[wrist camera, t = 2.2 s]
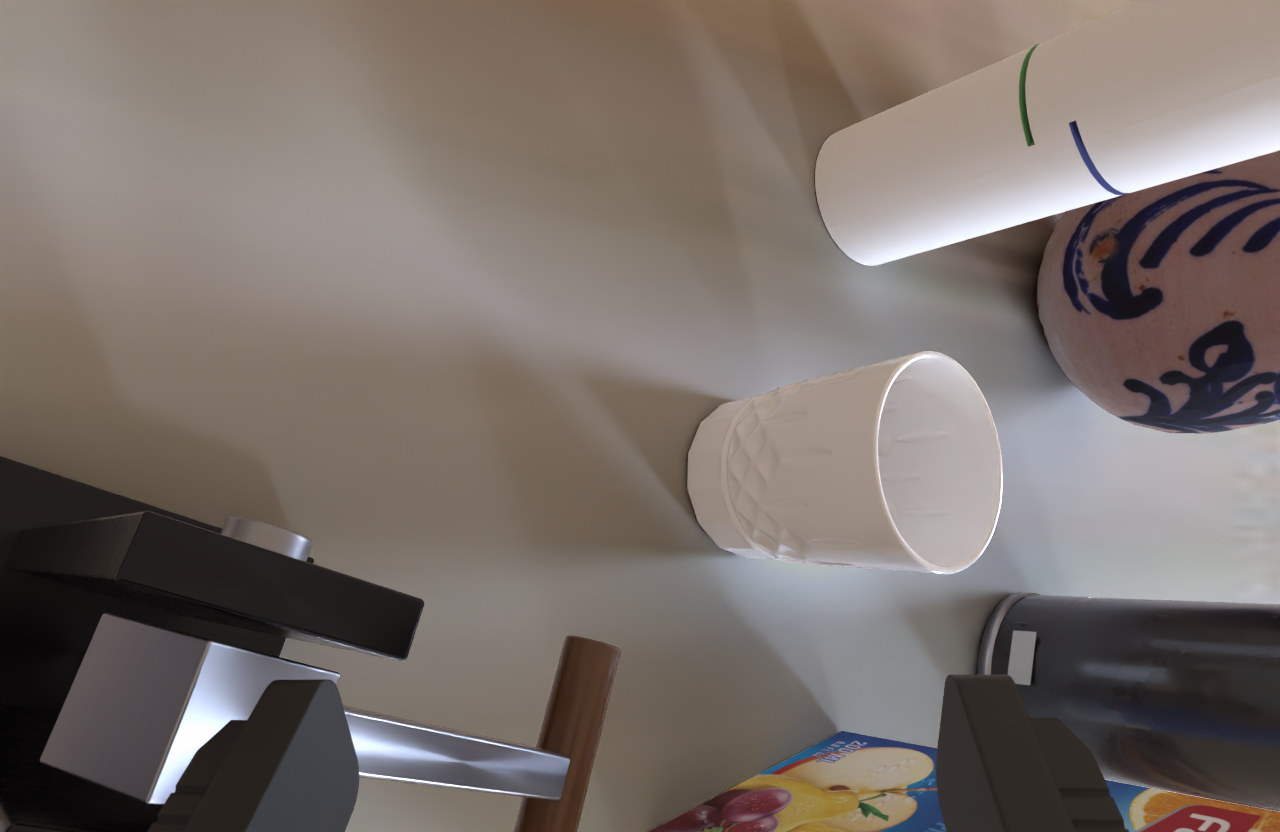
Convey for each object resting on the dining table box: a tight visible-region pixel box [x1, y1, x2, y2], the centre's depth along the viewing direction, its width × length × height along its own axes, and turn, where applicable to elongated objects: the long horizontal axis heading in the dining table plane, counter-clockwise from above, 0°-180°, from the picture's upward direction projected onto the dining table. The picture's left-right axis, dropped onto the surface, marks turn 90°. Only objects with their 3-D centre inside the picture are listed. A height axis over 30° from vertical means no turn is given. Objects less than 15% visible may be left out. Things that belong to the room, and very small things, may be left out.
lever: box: [40, 613, 621, 832], centre depth 19 cm, size 14×7×2 cm, turn 72°
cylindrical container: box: [815, 0, 1280, 266], centre depth 39 cm, size 7×7×25 cm
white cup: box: [687, 351, 1003, 574], centre depth 37 cm, size 8×8×10 cm
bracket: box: [0, 456, 424, 832], centre depth 19 cm, size 10×8×15 cm
